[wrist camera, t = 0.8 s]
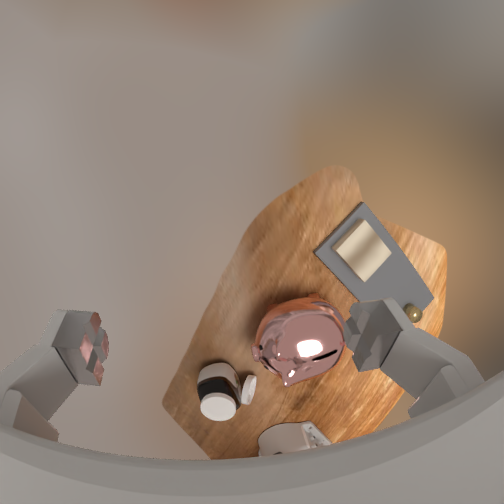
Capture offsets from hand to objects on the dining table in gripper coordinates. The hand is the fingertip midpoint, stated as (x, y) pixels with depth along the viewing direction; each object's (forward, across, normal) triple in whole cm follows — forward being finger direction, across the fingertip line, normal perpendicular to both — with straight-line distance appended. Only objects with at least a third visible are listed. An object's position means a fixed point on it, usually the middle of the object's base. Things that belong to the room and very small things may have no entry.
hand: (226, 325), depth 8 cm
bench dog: (+30, +42, -32) cm, 61 cm away
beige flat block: (+37, +28, -19) cm, 50 cm away
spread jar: (+31, +2, -48) cm, 57 cm away
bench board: (+35, +34, -26) cm, 55 cm away
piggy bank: (+34, +16, -35) cm, 51 cm away
